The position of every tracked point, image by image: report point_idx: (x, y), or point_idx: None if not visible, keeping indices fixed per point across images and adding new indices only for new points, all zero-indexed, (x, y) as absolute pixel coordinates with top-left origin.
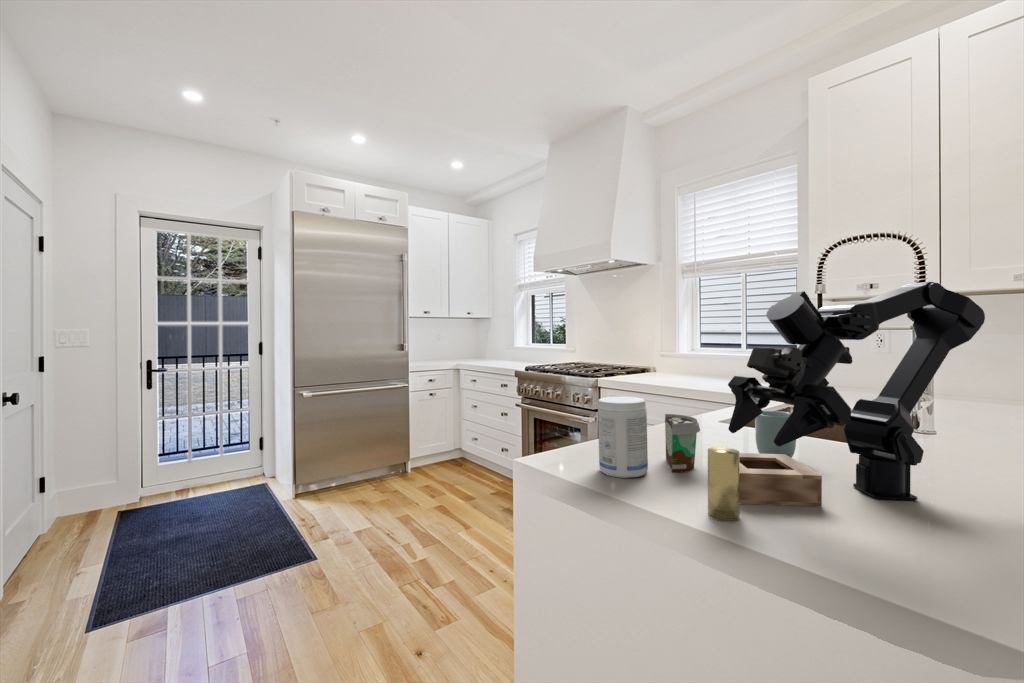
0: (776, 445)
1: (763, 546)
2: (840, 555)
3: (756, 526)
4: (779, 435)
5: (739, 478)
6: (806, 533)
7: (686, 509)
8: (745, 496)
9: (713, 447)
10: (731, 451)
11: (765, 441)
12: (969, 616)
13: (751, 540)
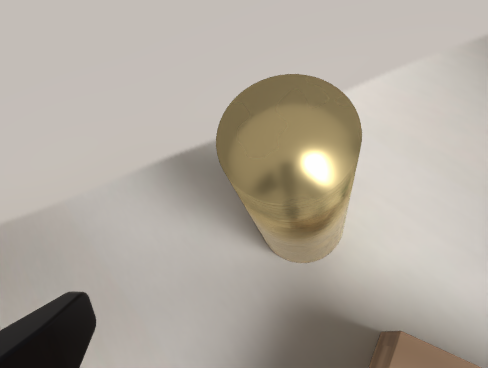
0: (94, 316)
1: (138, 191)
2: None
3: (219, 256)
4: (33, 318)
5: (254, 219)
6: (141, 347)
7: (370, 156)
8: (372, 365)
9: (357, 127)
10: (260, 159)
11: None
12: None
13: (167, 187)
